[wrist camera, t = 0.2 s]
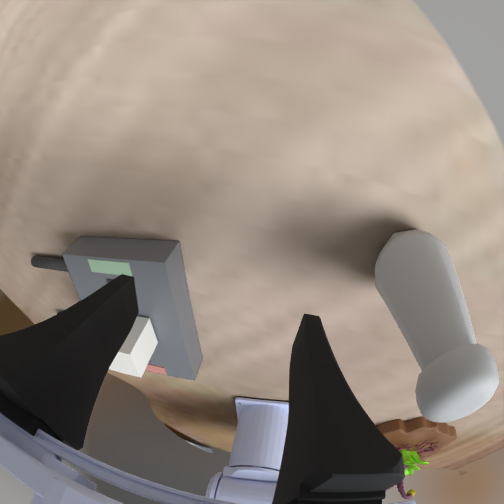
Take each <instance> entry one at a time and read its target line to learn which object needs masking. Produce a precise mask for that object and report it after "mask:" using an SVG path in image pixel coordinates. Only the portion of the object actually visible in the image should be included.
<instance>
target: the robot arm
mask: <svg viewBox="0 0 504 504" xmlns="http://www.w3.org/2000/svg"><path fill="white" fill-rule="evenodd" d="M138 313H139V308H138V302H137V295H136V288H135V281H134V277H132V276H128V275H124V274H121V275H119V276H118V277H116V278H115V279H113V280H112V281H110V282H109V283H107V284H106V285H104V286H103V287H101V288H100V289H98V290H97V291H95V292H94V293H92V294H91V295H89V296H88V297H86V298H84V299H83V300H81V301H80V302H78V303H76V304H75V305H73V306H71V307H70V308H68V309H66V310H65V311H63V312H61V313H59V314H57V315H55V316H53V317H51V318H49V319H47V320H45V321H43V322H40V323H38V324H35V325H33V326H30V327H28V328H25V329H23V330H19V331H16V332H13V333H10V334H6V335H2V336H0V465H1V466H2V467H3V468H4V469H5V470H7V471H8V472H9V473H10V474H11V475H13V476H14V477H15V478H16V479H18V480H19V481H20V482H21V483H23V484H24V485H25V486H27V487H28V488H30V489H31V490H32V491H33V492H35V494H34V497H33V499H32V501H31V504H123V503H120V502H118V501H115V500H113V499H111V498H109V497H106V496H104V495H102V494H100V493H98V492H95V489H96V487H97V486H96V484H95V483H93V482H91V481H90V480H88V479H86V478H85V477H83V476H82V475H81V474H80V473H78V472H77V471H75V470H73V469H72V468H70V467H68V466H67V465H65V464H63V463H62V461H61V459H62V460H63V461H65V462H67V463H69V464H71V465H73V466H74V467H76V468H78V469H80V470H82V471H84V472H86V473H88V474H91V475H92V476H95V477H97V478H99V479H101V480H103V481H106V482H108V483H110V484H112V485H115V486H117V487H119V488H122V489H124V490H127V491H129V492H132V493H135V494H137V495H140V496H143V497H146V498H149V499H152V500H155V501H158V502H161V503H164V504H382V499H384V498H385V490H386V489H388V488H390V487H392V486H394V485H396V484H398V483H399V482H401V481H402V480H403V479H404V477H405V471H404V462H403V457H402V453H401V452H400V451H399V450H398V449H397V448H396V447H395V446H394V445H393V444H392V443H390V442H389V441H388V440H387V439H386V437H385V436H384V435H383V434H382V433H381V432H380V430H379V429H378V428H377V427H376V426H375V424H374V423H373V422H372V420H371V419H370V418H369V416H368V415H367V414H366V412H365V411H364V410H363V408H362V407H361V405H360V404H359V402H358V401H357V399H356V397H355V396H354V394H353V392H352V391H351V389H350V387H349V385H348V384H347V382H346V380H345V378H344V376H343V374H342V372H341V370H340V368H339V366H338V364H337V361H336V359H335V357H334V354H333V352H332V350H331V347H330V345H329V342H328V339H327V337H326V334H325V331H324V328H323V325H322V322H321V319H320V317H319V316H315V315H309V314H304V315H303V318H302V321H301V324H300V327H299V330H298V332H297V335H296V338H295V341H294V344H293V347H292V354H291V362H290V374H289V402H281V401H269V400H259V399H249V398H241V397H237V398H235V405H236V411H237V418H238V424H237V429H236V434H235V438H234V443H233V447H232V452H231V457H230V461H229V466H228V467H224V471H223V473H222V472H218V473H217V474H216V475H215V476H213V477H212V478H211V480H210V482H209V485H208V488H207V492H206V497H204V496H199V495H195V494H191V493H187V492H183V491H180V490H177V489H173V488H170V487H166V486H163V485H160V484H157V483H154V482H151V481H148V480H145V479H142V478H139V477H136V476H134V475H131V474H129V473H126V472H124V471H121V470H119V469H116V468H114V467H112V466H109V465H107V464H105V463H102V462H100V461H97V460H96V459H94V458H92V457H89V456H87V455H85V454H83V453H81V452H79V451H77V450H79V449H81V448H83V444H84V439H85V435H86V431H87V426H88V423H89V419H90V416H91V413H92V409H93V406H94V403H95V401H96V398H97V395H98V392H99V390H100V387H101V385H102V382H103V380H104V377H105V375H106V373H107V371H108V369H109V367H110V366H111V364H112V362H113V360H114V359H115V357H116V355H117V353H118V352H119V350H120V348H121V347H122V345H123V343H124V341H125V340H126V338H127V336H128V335H129V333H130V331H131V329H132V327H133V324H134V322H135V320H136V317H137V315H138ZM391 504H416V502H415V501H414V500H412V501H406V502H399V503H391Z"/></svg>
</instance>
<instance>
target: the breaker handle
mask: <svg viewBox="0 0 504 504" xmlns="http://www.w3.org/2000/svg"><path fill="white" fill-rule="evenodd" d="M157 344H158V341H157V338H156V336H155V333H154V330H153V327H152V324H151V321H150V318H145V317H139V316H137V317H136V320H135V322H134V324H133V327H132V329H131V331H130V333H129V335H128V336H127V338H126V340H125V341H124V343H123V345H122V347H121V348H120V350H119V352H118V353H117V355H116V357H115V359H114V360H113V362H112V364H111V366H110V367H109V369H110V370H114V371H117V372H121V373H125V374H128V375H132V376H136V377H140V378H141V377H142V375H143V373H144V371H145V369H146V367H147V364H148V362H149V360H150V358H151V356H152V354H153V352H154V350H155V348H156V346H157Z"/></svg>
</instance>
